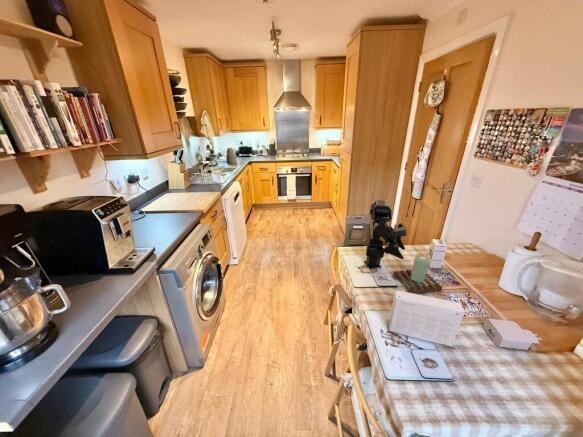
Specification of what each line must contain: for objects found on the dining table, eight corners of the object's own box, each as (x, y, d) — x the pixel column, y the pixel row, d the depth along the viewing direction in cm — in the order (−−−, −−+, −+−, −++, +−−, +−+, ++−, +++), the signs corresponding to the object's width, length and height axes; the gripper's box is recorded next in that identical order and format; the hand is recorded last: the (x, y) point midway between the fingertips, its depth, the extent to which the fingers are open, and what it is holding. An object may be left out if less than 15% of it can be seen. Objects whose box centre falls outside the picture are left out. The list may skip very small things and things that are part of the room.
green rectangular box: (410, 279, 109) (415, 259, 104) (410, 273, 114) (416, 253, 109) (423, 283, 107) (429, 262, 102) (423, 276, 111) (429, 256, 107)
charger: (547, 353, 78) (498, 347, 80) (526, 330, 87) (482, 326, 89) (553, 344, 76) (503, 338, 78) (531, 321, 85) (486, 317, 87)
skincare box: (448, 334, 85) (461, 302, 79) (452, 347, 81) (466, 314, 74) (387, 320, 92) (395, 288, 85) (388, 331, 87) (396, 299, 80)
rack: (410, 295, 104) (411, 290, 103) (392, 276, 116) (393, 271, 115) (441, 290, 107) (442, 285, 105) (420, 272, 119) (421, 267, 118)
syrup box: (440, 268, 122) (448, 245, 116) (428, 267, 123) (435, 244, 117) (437, 262, 127) (444, 239, 121) (425, 261, 128) (431, 238, 122)
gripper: (396, 229, 100) (418, 257, 100) (400, 213, 115) (419, 238, 115) (374, 240, 107) (396, 266, 107) (381, 224, 122) (399, 247, 121)
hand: (403, 254), depth 112 cm, fingers open, 9 cm apart
